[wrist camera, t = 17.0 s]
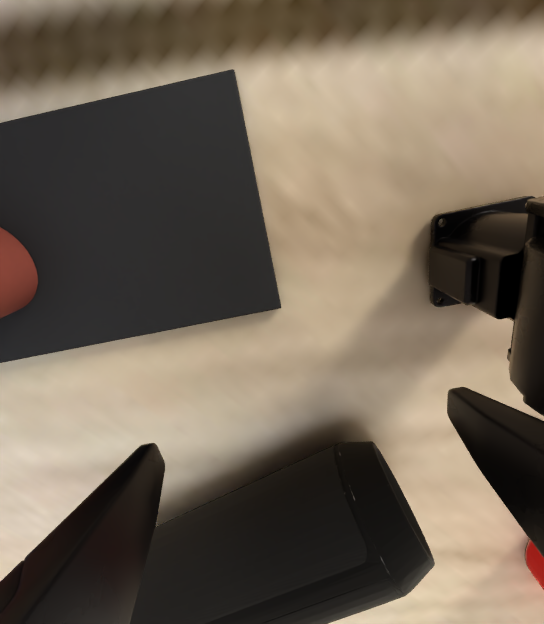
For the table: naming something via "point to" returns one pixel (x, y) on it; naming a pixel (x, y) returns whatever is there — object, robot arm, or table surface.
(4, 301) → the lidded canister
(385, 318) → the table surface
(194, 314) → the desk pad
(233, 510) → the portable speaker
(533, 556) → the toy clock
